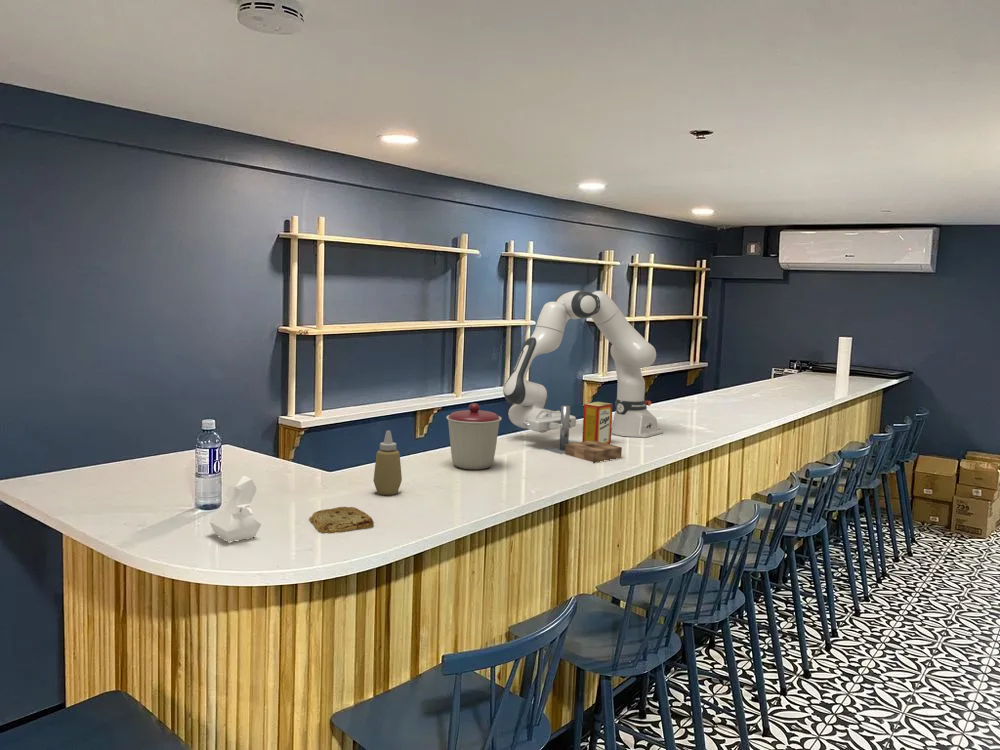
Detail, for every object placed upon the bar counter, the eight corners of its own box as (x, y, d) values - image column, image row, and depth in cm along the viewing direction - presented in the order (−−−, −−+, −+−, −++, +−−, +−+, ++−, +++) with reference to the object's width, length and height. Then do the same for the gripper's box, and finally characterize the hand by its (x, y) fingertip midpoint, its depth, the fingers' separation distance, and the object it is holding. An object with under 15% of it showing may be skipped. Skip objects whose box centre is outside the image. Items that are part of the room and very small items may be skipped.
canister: (433, 465, 261) (435, 402, 258) (472, 457, 274) (474, 397, 271) (472, 476, 249) (474, 409, 246) (511, 467, 262) (513, 404, 259)
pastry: (327, 511, 208) (327, 500, 208) (387, 519, 203) (387, 507, 203) (291, 530, 192) (291, 518, 191) (356, 539, 187) (356, 527, 186)
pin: (564, 448, 292) (565, 405, 290) (570, 449, 289) (571, 406, 287) (557, 449, 290) (559, 406, 288) (563, 450, 287) (565, 407, 285)
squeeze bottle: (389, 498, 221) (390, 434, 219) (367, 493, 225) (367, 431, 223) (407, 492, 228) (408, 430, 225) (385, 487, 232) (386, 427, 230)
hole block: (592, 451, 291) (593, 440, 290) (621, 458, 280) (621, 447, 279) (565, 455, 282) (565, 444, 281) (593, 463, 271) (593, 451, 270)
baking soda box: (596, 447, 297) (598, 405, 295) (582, 444, 302) (583, 403, 300) (610, 444, 304) (612, 402, 302) (596, 441, 309) (598, 400, 307)
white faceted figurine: (232, 548, 177) (231, 488, 175) (205, 533, 187) (204, 476, 185) (267, 540, 183) (266, 482, 181) (239, 526, 193) (238, 471, 191)
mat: (566, 446, 297) (566, 445, 297) (585, 451, 289) (585, 450, 289) (542, 450, 290) (542, 448, 290) (561, 455, 282) (561, 454, 282)
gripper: (520, 414, 292) (545, 420, 281) (561, 410, 304) (586, 415, 294) (519, 431, 292) (544, 437, 282) (560, 426, 305) (585, 432, 294)
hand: (566, 426), depth 288 cm, fingers closed on pin, 3 cm apart
